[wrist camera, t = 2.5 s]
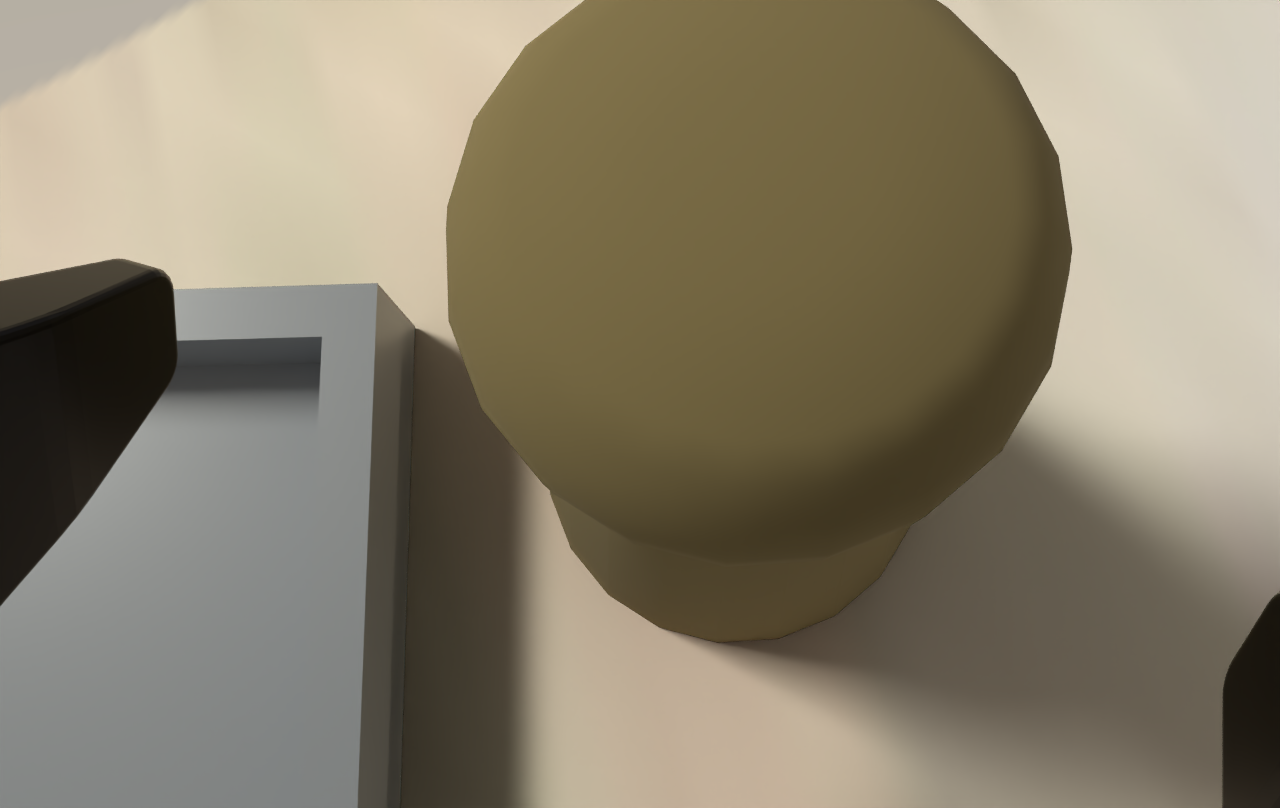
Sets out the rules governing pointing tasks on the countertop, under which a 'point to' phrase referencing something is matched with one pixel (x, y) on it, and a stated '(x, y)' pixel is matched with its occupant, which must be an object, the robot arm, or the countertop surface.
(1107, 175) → the countertop surface
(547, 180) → the cork
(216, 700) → the grey tray
